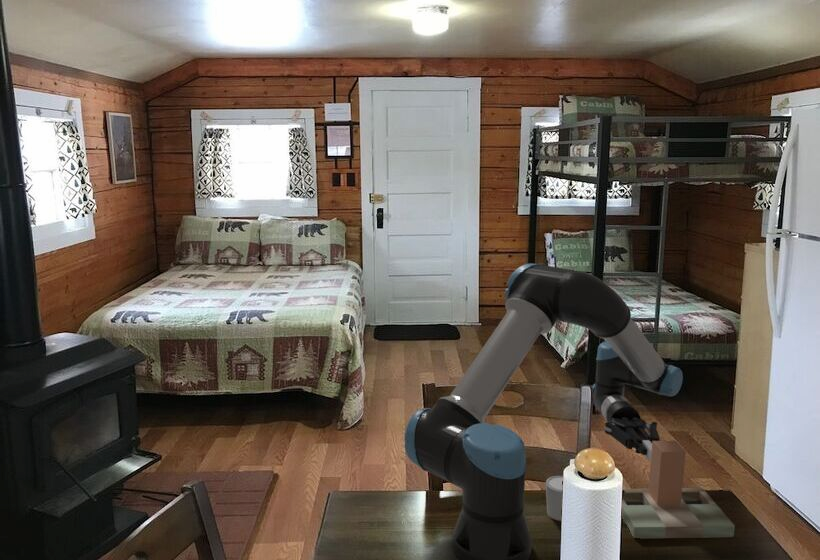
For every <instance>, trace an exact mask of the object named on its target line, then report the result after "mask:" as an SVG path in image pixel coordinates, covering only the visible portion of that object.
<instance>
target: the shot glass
mask: <svg viewBox="0 0 820 560" xmlns="http://www.w3.org/2000/svg"><path fill="white" fill-rule="evenodd" d="M562 481H563V475H554V476H550V477H548V478H547V479H546V481H545V495H546V496H545V499H546V514H547V515H548V516H549V517H550V519H553V520H555V521H559V522H562V521H561V509H562Z"/></svg>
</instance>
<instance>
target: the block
mask: <svg viewBox="0 0 820 560" xmlns="http://www.w3.org/2000/svg"><path fill="white" fill-rule="evenodd" d="M686 453H687V452H686V450H685V449H684V448H683V446H682V445H680V444H679V442H677V440H659V441H652V452H651V462H650V464H649V465H650V467H649V477H648V478H649V479H648V488H647V489H648V493H649V494H650V496H651V497H652V499H653V500H654V501H655V503H656V504H657V505H681V496H682V488H683V483H684V473H685V472H684V471H685V462H686Z"/></svg>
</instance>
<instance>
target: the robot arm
mask: <svg viewBox="0 0 820 560" xmlns="http://www.w3.org/2000/svg"><path fill="white" fill-rule="evenodd" d="M507 280H508V281H507V283H506V286H507V288H505V290H504V291H505V293H504V295H505V296H504V297H505V304H504V306H505V307H504V308H505V310H506V313H505V315H504V316H503V318H502V319H501V320H500V322H499V323H498V324H497V326H496V328H495V329H494V331H493V332H492V334H491V335H490V336H489V338H488V339H487V341H486V342H485V344H484V346H482V348H481V349H480V351H479V353H478V354H477V356H475V359H474V360H473V361H472V363H471V364H470V366H469V367H468V368H467V370H466V371H465V373H464V375H463V376H462V377H461V379H460V380H459V382H458V383H457V385H456V386H455V388H454V389H453V391H452V392H451V393H450V395H448V396H441V397H439V398H438V399H437V401H436V403H435V404H434V405H433V407H432V408H430V407H424V408H422V409H418V410H417V411H415V412H414V413H413V414H412V416H411V417H410V419H409V420H408V423H407V425H406V428H405V432H404V437H403V438H404V439H403V440H404V444H403V445H404V450H405V453H406V456H407V458H408V459H409V460H410V461H411V462H412V463H413V464H414V465H416V466H418V467H419V468H421V470H422V471H425V472H428V473H430V474H432V475H434V476H436V477H438V478H440V479H442V480H444V481H446V482H448V483H450V484H452V485H454V486H455V487H458V488H460V489H461V491H462V507H461V510H460V513H459V516H458V519H457V522H456V524H455V527H454V529H453V533H452V548H453V551H454V554H455V555H456V556H457V557H458V558H459V560H529V558H530V556H531V554H532V541H533V539H532V535H531V532H530V530H529V526H528V523H527V520H526V516H525V514H524V507H525V505H524V504H525V490H526V489H525V488H526V487H525V486H526V485H525V484H526V470H527V458H526V447H525V443H524V440H523V439H522V438H521V437H520V436H519V434H518V433H517V432H515V431H514V430H512V429H510V428H509V427H506V426H503V425H502V424H497V423H495V424H491V423H489V422H485V418H487V416H488V414H489V413H490V411H491V409H492V407H494V405H495V403H496V402H497V400H498V399H499V397H500V396H501V394H502V392H503V391H504V390H505V388H506V387H507V385H508V383H509V382H510V381H511V379H512V378H513V376H514V374H515V373H516V372H517V370H518V368H519V366H521V364H522V362H523V360H524V359H525V357H526V356H527V354H528V353H529V351H530V350H531V348H532V347H533V345H534V344H535V342H536V340H537V339H538V337H539V336H540V335H541V334H549V333H550V332H551V330H552V329H553V328H554V326H555V324H556V322H563V323H567V324H571V325H574V326H575V325H576V326H580V327H583V328H584V329H588V331H589V330H590V332H591V333H592V334H593V335H594V336H596V337H599V338H600V339H603V340H604V342H601V343H600V344H599V345H598V347H597V354H596V357H595V360H596V369H595V382H594V384H592V386H591V388H593V402H592V404H593V406H594V407H595V408H596V409H597V410H598V412H599V413H600V414H601V415H602V417H603V418H604V420H605V421H606V422H605V426H604V433H605V434H606V435H609V436H611V437H612V438H613V439H615V440H616V441H617V442H619V443H620V444H622V445H623V446H624V447H625V448H626V449H628V450H632V449H633V448H634V449H635V453H636V454H641V455H642V456H645V458H647V460H648V461H649V463H651V452H652V441H661V440H660V435H659V432H658V430H657V429H658V422H656V421H652V422H649V423H647V421H646V420H644V419H642V418H641V416H640V413H639V411H637V408H635V407H634V406H633V405H632V404H631V402H630V401H629V400H628V399H627V398H626V397H625V386H626V385H629V386H632V387H635V388H638V389H642V390H645V391H649V392H652V393H656V394H658V395H663V396H667V397H674V396H676V395H677V394H678V393H679V391H680V390H681V387H682V384H683V380H684V379H683V378H684V375H683V371H682V370H681V369H680V368H679V367H677V366H674V365H673V364H667V363H665V361H664V360H663V358H662V357H660V355H659V354H658V352H657V351H656V350H655V347H653V346H652V344H651V343H650V342H649V340H648V339H647V337H646V336H645V335H644V333H643V332H642V331H641V329H640V328H639V327H638V326H637V323H635V322H634V321H633V319H632V314H631V313H632V312H631V309H630V307H629V306H628V305H627V303H626V301H624V299H623V298H622V297H621V296H620V295H619V294H618V293H617V292H616V291H615V290H614V289H613V288H612V287H610V285H608V284H607V283H606V282H604V281H603V280H602V279H600V278H599V277H596V276H595V275H593V274H591V273H588V272H586V271H583V270H574V269H571V268H570V269H569V268H562V267H557V266H552V265H548V264H545V263H525V264H523V265H521V266H519V267H517V268H516V269H515V270H514V271H513V272H512V274H511V275H510V277H509V278H508V279H507ZM647 431H648V432H647Z"/></svg>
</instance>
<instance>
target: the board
mask: <svg viewBox="0 0 820 560" xmlns="http://www.w3.org/2000/svg"><path fill="white" fill-rule="evenodd" d="M622 489H623V490H624V491H625V493H624V496H623V500H622V518H621V520H622V519H623V520H622V522H623V523H624V522H625V523H624V525H625V524H626V525H627V527H628V528H629V530H630V532H631V533H630V532H629V533H630V535H631V534H632V535H631V537H632V536H633V537H634V538H640V539H686V538H687V539H689V538H690V539H695V538H700V539H701V538H705V539H706V538H734V535H735V526H736V525H735V524H734V523H733V521H731V519H730V518H729V517H728V516H727V515H726V513H725V512H723V510H722V509H721V507H720V506H718V504H717V503H716V502H715V501H714V500H713V499H712V497H711V496H710V495H709V494H708V493H707V492H706V490H705V489H704V488H702V487H682V496H681V505H657V504H656V503H655V501H654V500H653V499H652V497H651V496H650V494H649V493H648V488H622ZM626 525H625V526H626ZM627 527H626V528H627ZM628 528H627V529H628ZM629 530H628V531H629ZM633 537H632V538H633ZM634 538H633V539H634Z"/></svg>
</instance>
